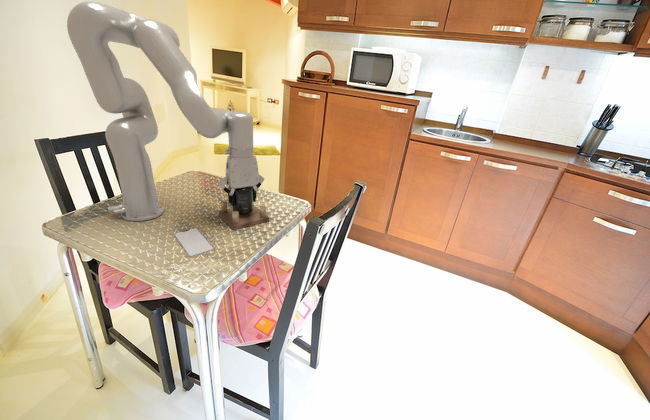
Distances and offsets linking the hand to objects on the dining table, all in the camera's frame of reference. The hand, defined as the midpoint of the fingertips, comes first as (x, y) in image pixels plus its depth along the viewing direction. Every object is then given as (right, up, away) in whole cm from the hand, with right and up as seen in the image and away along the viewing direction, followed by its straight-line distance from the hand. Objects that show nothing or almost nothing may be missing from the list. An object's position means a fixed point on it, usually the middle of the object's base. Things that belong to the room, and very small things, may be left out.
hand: (242, 202), depth 101 cm
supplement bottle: (0, -3, +1) cm, 3 cm away
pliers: (-7, 0, +14) cm, 16 cm away
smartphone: (-11, -13, -14) cm, 22 cm away
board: (0, -5, +3) cm, 6 cm away
